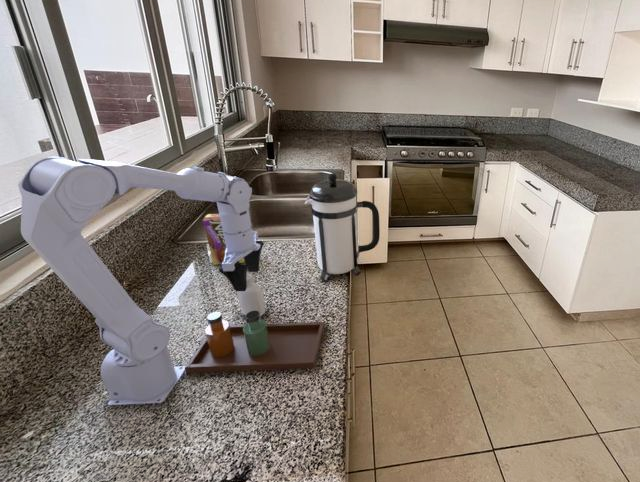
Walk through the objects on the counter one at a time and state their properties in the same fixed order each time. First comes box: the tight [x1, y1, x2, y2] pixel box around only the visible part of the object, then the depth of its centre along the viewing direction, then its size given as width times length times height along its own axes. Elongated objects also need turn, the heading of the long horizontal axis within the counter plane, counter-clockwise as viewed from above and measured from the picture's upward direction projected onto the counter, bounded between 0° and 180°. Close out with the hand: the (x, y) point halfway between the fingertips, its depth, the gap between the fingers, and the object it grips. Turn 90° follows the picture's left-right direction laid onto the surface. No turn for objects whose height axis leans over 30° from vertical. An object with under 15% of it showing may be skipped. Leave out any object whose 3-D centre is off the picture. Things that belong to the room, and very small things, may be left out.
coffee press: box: [304, 172, 381, 282], centre depth 98 cm, size 17×16×30 cm
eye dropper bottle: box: [236, 270, 267, 317], centre depth 82 cm, size 4×6×12 cm
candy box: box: [202, 213, 245, 266], centre depth 103 cm, size 9×4×15 cm, turn 99°
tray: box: [184, 321, 326, 374], centre depth 73 cm, size 25×12×2 cm, turn 94°
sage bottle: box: [243, 311, 270, 356], centre depth 72 cm, size 4×4×9 cm
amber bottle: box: [204, 311, 234, 358], centre depth 71 cm, size 4×4×9 cm
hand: (247, 280), depth 81 cm, fingers open, 7 cm apart
